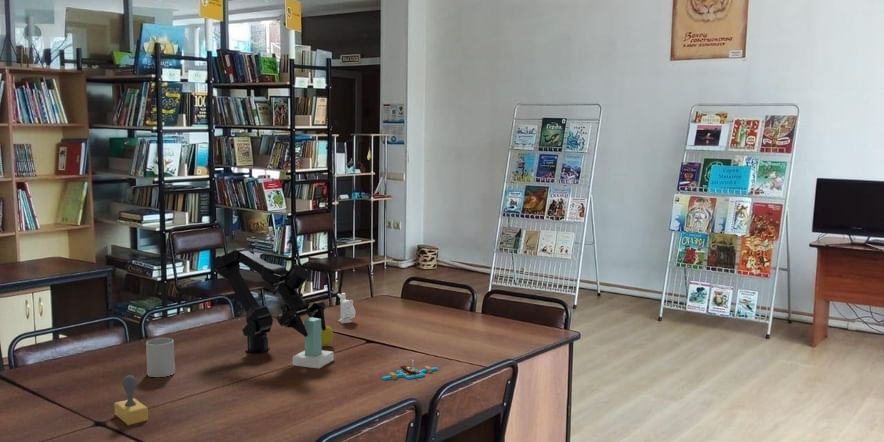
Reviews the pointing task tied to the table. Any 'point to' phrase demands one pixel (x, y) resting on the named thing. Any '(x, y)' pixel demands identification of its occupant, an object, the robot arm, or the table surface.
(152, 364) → the mug
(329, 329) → the lemon
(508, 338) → the table surface
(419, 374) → the gear mechanism
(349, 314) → the white upright figurine
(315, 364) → the plinth
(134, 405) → the rubber stamp
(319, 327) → the pillar
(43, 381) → the table surface
